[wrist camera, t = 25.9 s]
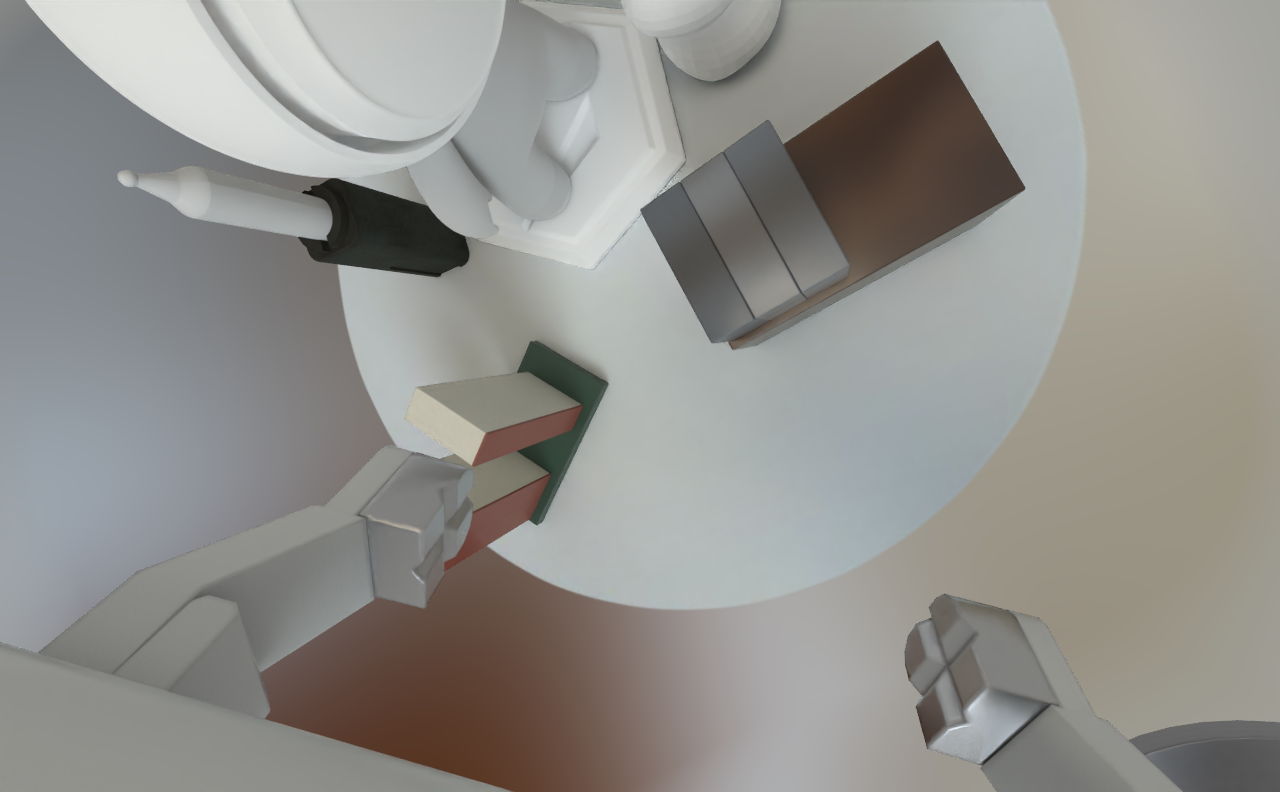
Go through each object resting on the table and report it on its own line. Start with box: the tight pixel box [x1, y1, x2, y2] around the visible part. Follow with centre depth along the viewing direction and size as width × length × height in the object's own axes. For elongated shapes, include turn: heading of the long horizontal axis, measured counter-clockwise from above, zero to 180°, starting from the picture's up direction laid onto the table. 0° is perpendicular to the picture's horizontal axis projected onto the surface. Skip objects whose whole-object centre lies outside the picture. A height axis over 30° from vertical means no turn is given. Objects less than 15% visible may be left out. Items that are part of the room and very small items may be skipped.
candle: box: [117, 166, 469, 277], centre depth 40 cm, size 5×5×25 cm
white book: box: [404, 372, 583, 467], centre depth 42 cm, size 6×2×14 cm, turn 63°
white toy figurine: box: [25, 0, 686, 270], centre depth 30 cm, size 20×23×35 cm
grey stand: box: [640, 41, 1025, 350], centre depth 33 cm, size 9×17×16 cm, turn 120°
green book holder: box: [441, 341, 608, 572], centre depth 44 cm, size 8×15×15 cm, turn 153°
